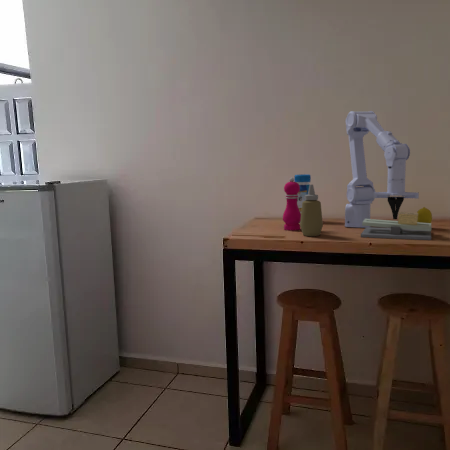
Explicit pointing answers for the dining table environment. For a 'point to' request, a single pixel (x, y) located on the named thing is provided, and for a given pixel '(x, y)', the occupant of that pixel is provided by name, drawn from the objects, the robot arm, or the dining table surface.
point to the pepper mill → (292, 206)
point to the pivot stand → (396, 233)
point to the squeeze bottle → (311, 214)
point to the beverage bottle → (302, 188)
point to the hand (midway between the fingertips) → (395, 219)
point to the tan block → (408, 218)
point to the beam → (396, 224)
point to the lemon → (424, 215)
